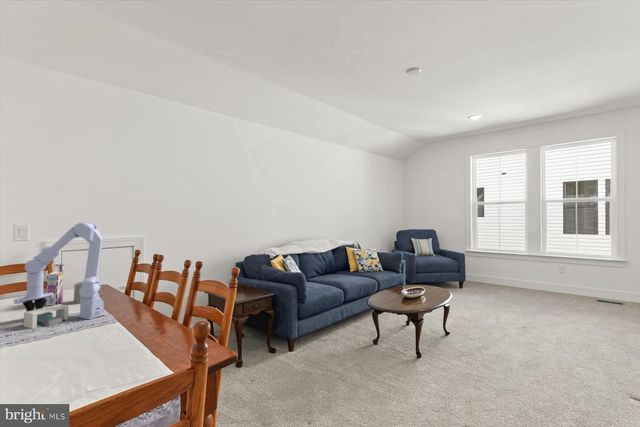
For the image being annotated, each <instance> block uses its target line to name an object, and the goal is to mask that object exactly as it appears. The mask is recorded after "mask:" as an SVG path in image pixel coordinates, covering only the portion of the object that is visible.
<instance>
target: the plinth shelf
mask: <svg viewBox="0 0 640 427" xmlns="http://www.w3.org/2000/svg"><path fill="white" fill-rule="evenodd" d="M47 312H51V313H52V312H55V317H60V318H62V321H63V320H69V305H66V304H60V303H59V304H58V305H54V306H44V307H43V308H41V309H36V310H35V309H34V310H32V311H27V312H26V311H24V312H23V327H25V328H29V329H34V328H35V329H36V328H37V327H38V326H37V325H38V321H37V315H39V314H43V313H47Z"/></svg>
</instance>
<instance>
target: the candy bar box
mask: <svg viewBox="0 0 640 427" xmlns="http://www.w3.org/2000/svg"><path fill="white" fill-rule="evenodd" d="M64 272H65V271H52V272H50V273H48V274H46V293H54V297H49V298H45V299H47V302H46V303H45V307H50V306H54V305H59V304H60V303H62V302H63V299H64V298H63V297H64V295H63V293H64V277H65V276H64Z"/></svg>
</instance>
